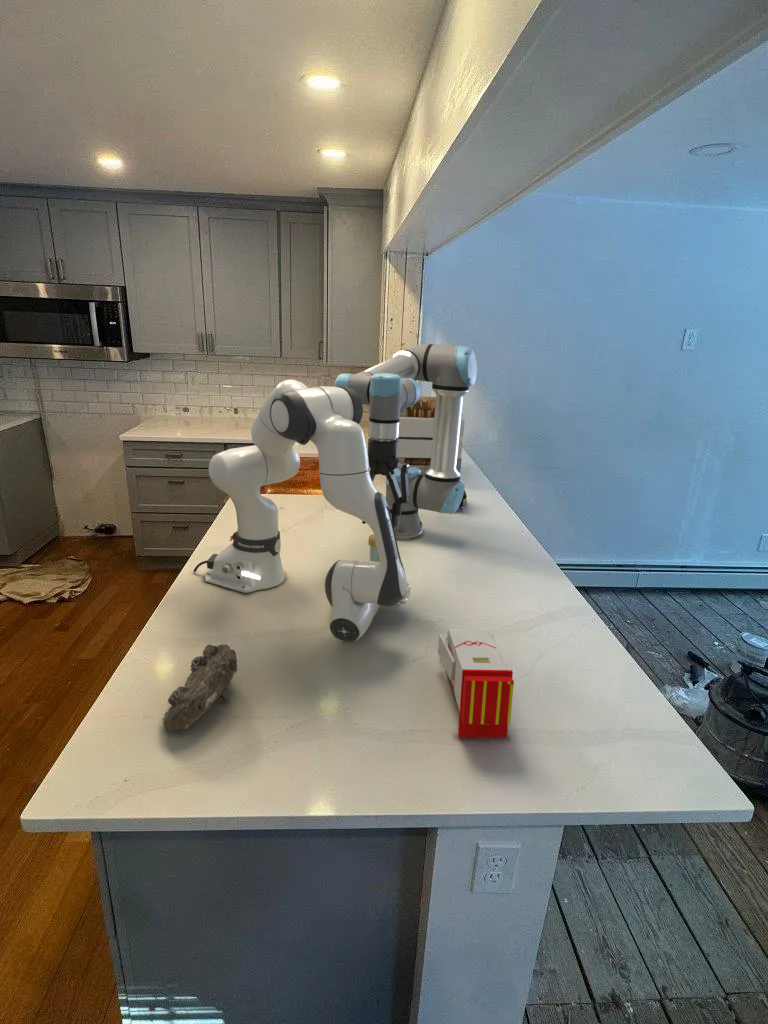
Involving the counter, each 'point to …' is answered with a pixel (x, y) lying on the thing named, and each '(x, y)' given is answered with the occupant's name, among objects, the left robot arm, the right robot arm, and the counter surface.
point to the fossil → (201, 686)
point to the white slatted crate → (420, 434)
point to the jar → (374, 555)
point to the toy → (478, 682)
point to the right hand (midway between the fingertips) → (379, 524)
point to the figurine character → (463, 502)
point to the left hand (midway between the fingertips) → (378, 575)
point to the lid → (372, 541)
